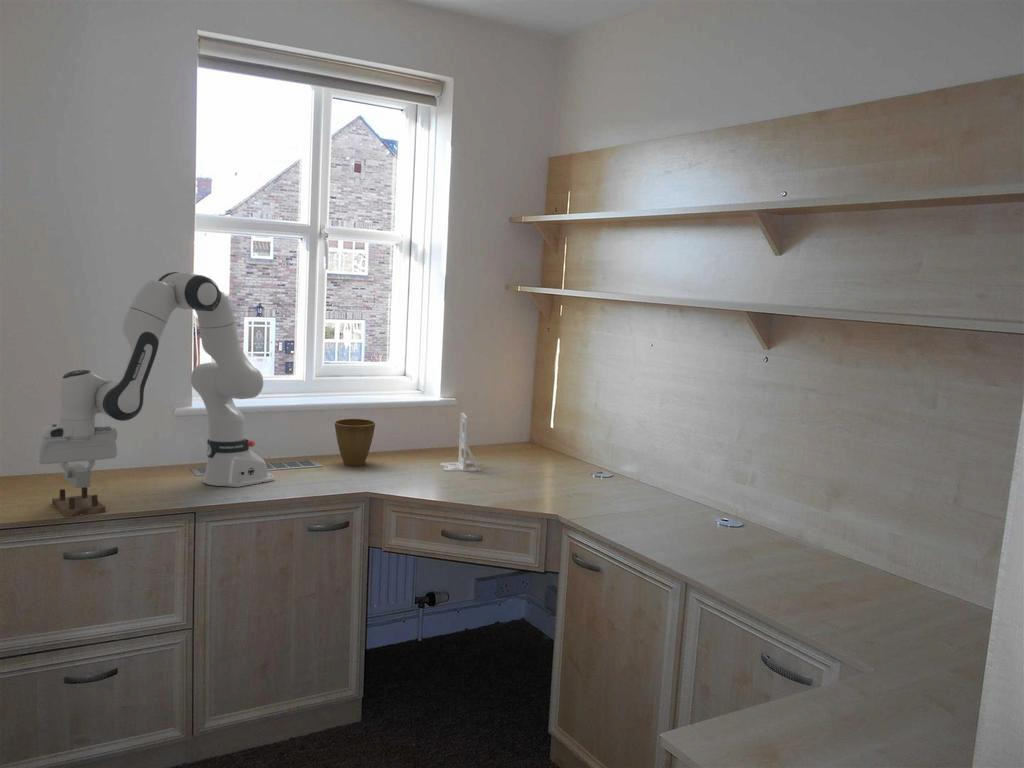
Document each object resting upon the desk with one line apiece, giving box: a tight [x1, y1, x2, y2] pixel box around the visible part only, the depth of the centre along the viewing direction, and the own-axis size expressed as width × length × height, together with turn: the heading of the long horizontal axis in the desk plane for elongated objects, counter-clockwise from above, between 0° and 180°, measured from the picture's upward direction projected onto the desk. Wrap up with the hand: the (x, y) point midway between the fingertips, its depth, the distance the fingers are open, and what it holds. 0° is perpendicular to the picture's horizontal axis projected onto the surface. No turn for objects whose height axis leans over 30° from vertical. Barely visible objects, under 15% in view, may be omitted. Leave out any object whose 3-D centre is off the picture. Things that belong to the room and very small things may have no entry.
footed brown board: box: [51, 487, 106, 517], centre depth 238 cm, size 10×16×4 cm, turn 40°
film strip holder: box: [439, 412, 481, 473], centre depth 314 cm, size 14×14×20 cm
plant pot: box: [334, 418, 376, 467], centre depth 311 cm, size 15×15×16 cm
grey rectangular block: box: [65, 462, 91, 489], centre depth 237 cm, size 3×12×4 cm, turn 40°
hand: (77, 476), depth 237 cm, fingers closed on grey rectangular block, 3 cm apart
